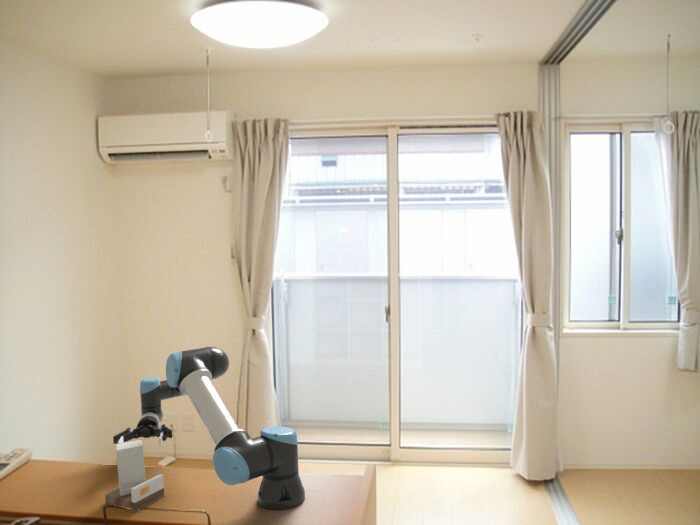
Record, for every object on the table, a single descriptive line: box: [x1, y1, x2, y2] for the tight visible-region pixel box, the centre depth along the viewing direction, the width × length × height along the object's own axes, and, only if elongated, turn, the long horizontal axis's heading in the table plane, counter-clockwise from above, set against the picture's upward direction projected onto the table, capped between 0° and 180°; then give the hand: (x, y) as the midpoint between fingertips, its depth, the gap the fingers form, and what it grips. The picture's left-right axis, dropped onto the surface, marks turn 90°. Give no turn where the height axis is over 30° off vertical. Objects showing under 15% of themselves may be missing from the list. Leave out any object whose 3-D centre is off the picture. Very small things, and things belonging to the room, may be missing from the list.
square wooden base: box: [104, 473, 165, 513], centre depth 193 cm, size 14×12×7 cm
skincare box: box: [115, 439, 146, 496], centre depth 193 cm, size 8×7×16 cm
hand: (139, 444), depth 203 cm, fingers open, 13 cm apart
